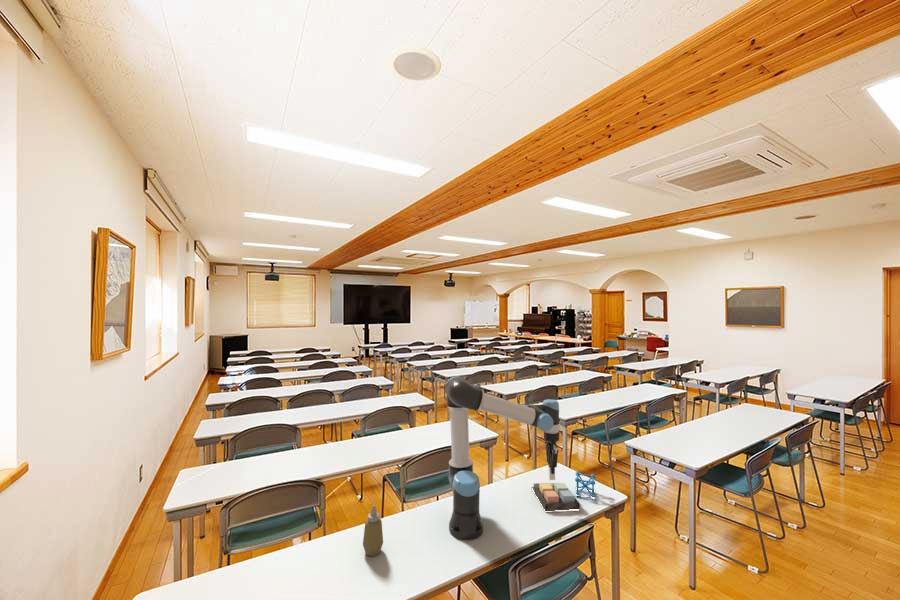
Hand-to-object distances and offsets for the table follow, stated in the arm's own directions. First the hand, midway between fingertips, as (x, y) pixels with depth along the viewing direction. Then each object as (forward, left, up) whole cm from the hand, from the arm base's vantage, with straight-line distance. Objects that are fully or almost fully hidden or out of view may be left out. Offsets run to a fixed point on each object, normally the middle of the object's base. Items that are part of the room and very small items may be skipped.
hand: (551, 479), depth 181 cm
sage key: (+8, +8, -10) cm, 15 cm away
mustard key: (0, +8, -10) cm, 13 cm away
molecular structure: (+22, +11, -14) cm, 29 cm away
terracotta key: (0, 0, -10) cm, 10 cm away
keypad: (+4, +7, -14) cm, 16 cm away
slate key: (+8, 0, -10) cm, 13 cm away
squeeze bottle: (-84, -30, -14) cm, 90 cm away
